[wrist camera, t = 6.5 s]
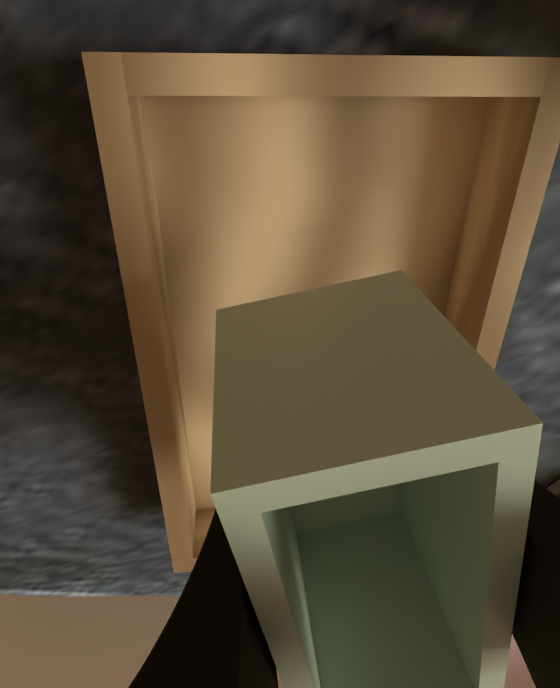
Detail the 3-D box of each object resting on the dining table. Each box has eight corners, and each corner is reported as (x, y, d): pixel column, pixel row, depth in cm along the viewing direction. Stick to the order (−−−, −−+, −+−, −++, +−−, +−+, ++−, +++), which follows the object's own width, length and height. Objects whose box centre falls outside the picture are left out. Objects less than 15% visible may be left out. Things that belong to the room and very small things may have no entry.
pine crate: (509, 61, 17) (583, 57, 13) (416, 489, 28) (443, 547, 24) (113, 57, 15) (81, 51, 12) (180, 508, 26) (173, 572, 23)
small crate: (401, 269, 12) (542, 423, 6) (413, 505, 16) (501, 704, 11) (216, 309, 12) (210, 494, 6) (280, 533, 16) (306, 745, 11)
